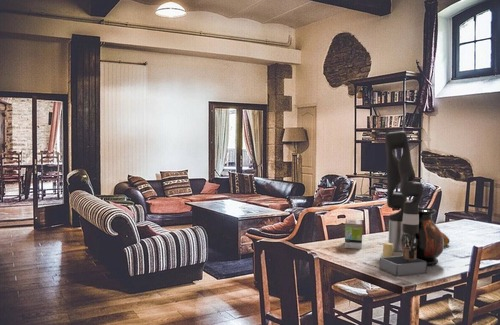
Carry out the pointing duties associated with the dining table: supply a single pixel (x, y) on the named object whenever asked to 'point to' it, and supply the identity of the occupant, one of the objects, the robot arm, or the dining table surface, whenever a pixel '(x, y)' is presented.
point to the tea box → (353, 234)
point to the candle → (387, 250)
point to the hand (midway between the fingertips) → (409, 256)
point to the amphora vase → (427, 238)
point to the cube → (406, 253)
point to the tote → (402, 266)
